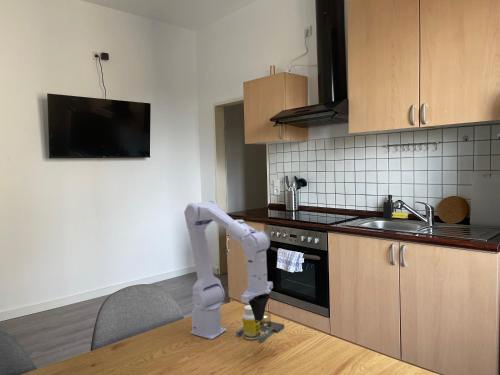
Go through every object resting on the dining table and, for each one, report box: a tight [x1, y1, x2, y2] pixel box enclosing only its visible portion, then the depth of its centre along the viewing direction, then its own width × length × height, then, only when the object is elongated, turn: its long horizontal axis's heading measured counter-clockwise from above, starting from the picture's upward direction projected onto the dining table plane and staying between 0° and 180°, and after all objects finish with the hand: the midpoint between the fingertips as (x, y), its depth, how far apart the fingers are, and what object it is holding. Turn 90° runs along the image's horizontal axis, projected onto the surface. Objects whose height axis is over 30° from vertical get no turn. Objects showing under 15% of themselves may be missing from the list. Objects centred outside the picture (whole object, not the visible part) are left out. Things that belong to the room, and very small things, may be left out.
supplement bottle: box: [242, 304, 262, 341], centre depth 119 cm, size 5×5×10 cm
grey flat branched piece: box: [235, 312, 285, 344], centre depth 123 cm, size 12×14×4 cm
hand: (258, 319), depth 108 cm, fingers closed
